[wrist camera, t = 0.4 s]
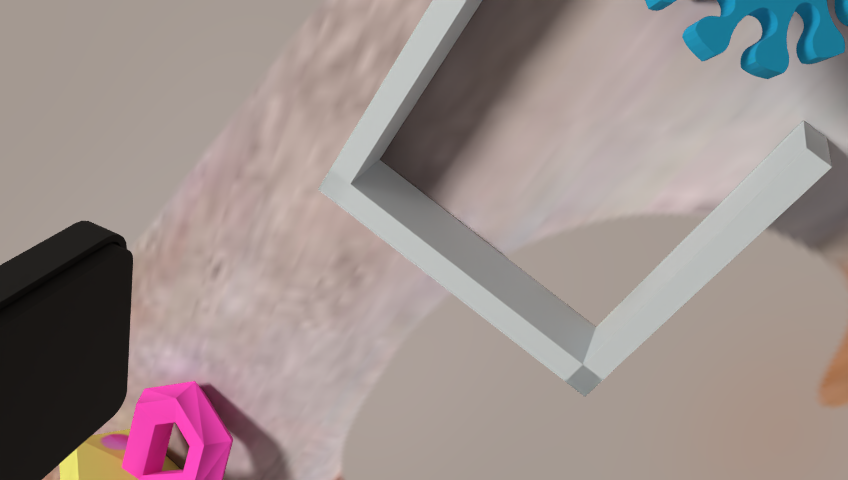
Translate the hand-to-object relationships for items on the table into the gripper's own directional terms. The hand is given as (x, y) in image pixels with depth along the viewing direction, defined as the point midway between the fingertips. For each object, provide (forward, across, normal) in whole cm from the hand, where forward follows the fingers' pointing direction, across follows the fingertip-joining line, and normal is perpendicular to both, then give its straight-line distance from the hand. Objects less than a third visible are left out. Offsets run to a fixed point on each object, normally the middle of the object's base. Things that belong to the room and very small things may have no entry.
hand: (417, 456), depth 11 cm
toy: (+28, +22, +39) cm, 53 cm away
